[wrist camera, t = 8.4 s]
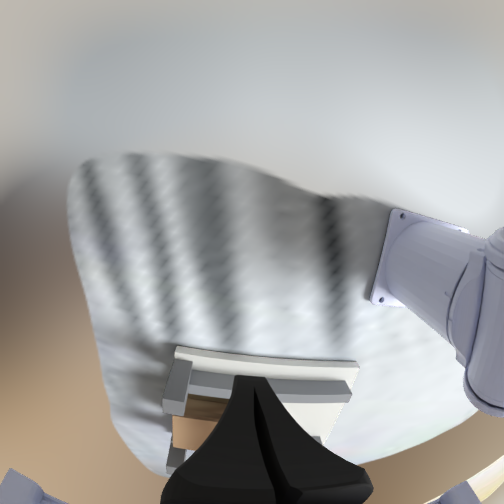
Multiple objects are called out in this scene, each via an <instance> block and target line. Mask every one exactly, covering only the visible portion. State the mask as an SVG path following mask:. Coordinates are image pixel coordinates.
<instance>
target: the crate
mask: <svg viewBox="0 0 504 504" xmlns="http://www.w3.org/2000/svg"><path fill="white" fill-rule="evenodd" d="M228 402H229V399H226V398H218V397H210V396H202V395H196V394H189V393H188V396H187V401H186V406H185V412H184V416H178V415H172V424H173V447H176V448H182V449H188V450H195V451H196V450H197V449H198V448H199V447H200V446H201V445H202V444H203V442H204V441H205V440H206V439H207V437H208V436H209V435H210V433H211V432H212V431H213V429H214V428H215V426H216V424H217V423H218V421H219V420H220V418H221V416H222V414H223V412H224V410H225V408H226V406H227V404H228Z"/></svg>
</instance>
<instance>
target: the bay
mask: <svg viewBox="0 0 504 504" xmlns="http://www.w3.org/2000/svg"><path fill="white" fill-rule="evenodd" d="M359 369H360V366H359V365H358V363H357V362H349V361H314V360H296V359H281V358H269V357H258V356H248V355H239V354H231V353H223V352H215V351H208V350H201V349H195V348H188V347H182V346H177V347H176V350H175V359H174V362H173V365H172V368H171V371H170V375H169V378H168V381H167V384H166V388H165V391H164V394H163V398H162V406H163V413H167V414H172V415H178V416H184V412H185V406H186V401H187V396H188V393H189V394H196V395H202V396H210V397H218V398H226V399H230V396H231V393H232V387H233V381H234V376H236V375H247V376H259V377H265V378H266V379H267V380H268V382H269V384H270V386H271V387H272V389H273V391H274V392H275V394H276V395H277V397H278V398H279V400H280V401H281V403H282V404H283V405H284V407H285V408H286V410H287V411H288V412H289V413H290V415H291V416H292V417H293V418H294V419H295V421H296V422H297V423H298V424H299V425H300V426H301V427H302V428H303V429H304V430H305V431H306V432H307V433H308V434H309V435H310V436H311V437H313V438H314V439H315V440H316V441H317V442H319V443H320V444H321V445H324V443H325V441H326V440H327V438H328V436H329V434H330V432H331V430H332V428H333V426H334V424H335V422H336V420H337V418H338V416H339V414H340V412H341V410H342V408H343V406H344V404H345V403H348V402H349V400H350V398H351V396H352V393H351V391H350V390H351V388H352V386H353V384H354V381H355V379H356V376H357V374H358V372H359ZM186 452H187V449H182V448H176V447H173V432H172V437H171V444H170V449H169V454H168V459H167V464H166V470H167V474H173V472H174V471H175V469H177V468H178V467H179V466H180V465H181V464H183V463H184V462H185V458H186Z"/></svg>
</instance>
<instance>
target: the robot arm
mask: <svg viewBox="0 0 504 504" xmlns="http://www.w3.org/2000/svg"><path fill="white" fill-rule="evenodd" d="M401 214H403V217H402V218H400V215H401ZM458 230H459V231H458ZM381 297H382V300H381V301H379V299H380V298H381ZM370 302H371V303H372V304H374V305H382V306H394V307H407V308H408V309H410V310H411V311H412V312H413V313H415V314H416V315H417V316H418V317H419V318H421V319H422V320H423V321H424V322H425V323H427V324H428V325H429V326H430V327H431V328H432V329H434V330H435V331H436V332H437V333H438V334H440V335H441V336H442V337H443V338H444V339H445V340H446V341H448V342H449V343H450V344H451V345H452V346H453V347H454V348H455V349H456V360H457V361H458V362H459V363H460V364H461V365H462V366H464V367H465V368H466V369H465V373H464V377H463V387H464V391H465V393H466V396H467V398H468V399H469V400H470V402H471V403H472V404H473V405H474V406H475V407H476V408H478V409H479V410H480V411H482V412H484V413H486V414H489V415H491V416H496V417H504V227H502V228H499V229H498V230H496V231H495V232H494V233H493V234H492V235H491V236H489V237H488V238H487V239H483V238H480V237H477V236H474V235H471V234H469V231H468V230H467V229H465V228H462V227H459V226H456V225H453V224H450V223H447V222H443V221H440V220H437V219H433V218H430V217H426V216H423V215H419V214H416V213H412V212H409V211H405V210H401V209H397V208H394V209H393V210H392V211H391V214H390V219H389V224H388V228H387V233H386V237H385V242H384V246H383V250H382V255H381V259H380V263H379V266H378V270H377V274H376V278H375V281H374V285H373V289H372V292H371V295H370ZM372 492H373V485H372V483H371V480H370V478H369V476H368V474H367V473H366V471H365V469H364V468H361V467H359V466H357V465H355V464H353V463H351V462H348V461H346V460H345V459H343V458H341V457H339V456H338V455H336V454H334V453H333V452H331V451H330V450H328V449H327V448H325V447H324V446H323V445H321V444H320V443H319V442H317V441H316V440H315V439H314V438H313V437H311V436H310V435H309V434H308V433H307V432H306V431H305V430H304V429H303V428H302V427H301V426H300V425H299V424H298V423H297V422H296V421H295V419H294V418H293V417H292V416H291V415H290V413H289V412H288V411H287V410H286V408H285V407H284V405H283V404H282V403H281V401H280V400H279V398H278V397H277V395H276V394H275V392H274V391H273V389H272V387H271V386H270V384H269V382H268V380H267V379H266V378H265V377H259V376H247V375H236V376H234V381H233V387H232V393H231V396H230V399H229V402H228V404H227V406H226V408H225V410H224V412H223V414H222V416H221V418H220V420H219V421H218V423H217V424H216V426H215V428H214V429H213V431H212V432H211V433H210V435H209V436H208V437H207V439H206V440H205V441H204V442H203V444H202V445H201V446H200V447H199V448H198V449H197V450H196V451H195V452H194V453H193V454H192V455H191V456H190V457H189V458H188V459H187V460H186V461H185V462H184V463H183V464H181V465H180V466H179V467H178V468H177V469H175V471H174V472H173V474H172V475H171V477H170V479H169V480H168V482H167V483H166V485H165V487H164V489H163V492H162V495H161V501H160V504H363V503H364V502H365V501H366V500H367V499H368V497H369V496H370V495H371V494H372ZM0 504H68V503H66V502H63V501H61V500H59V499H57V498H54V497H52V496H50V495H48V494H46V493H44V491H43V490H42V488H41V487H40V486H39V485H38V484H37V483H36V482H34V481H33V480H31V479H29V478H28V477H26V476H24V475H22V474H20V473H18V472H17V471H15V470H13V469H12V468H9V470H8V472H7V474H6V475H5V477H4V479H3V481H2V483H1V485H0ZM428 504H481V502H480V500H479V499H478V497H477V496H476V494H475V493H474V491H473V490H472V488H471V487H470V485H469V484H468V482H467V481H464V482H462V483H460V484H458V485H456V486H454V487H452V488H451V489H449V490H447V491H446V492H445V493H444V494H443V495H442V496H441V497H440V498H439V499H437V500H435V501H433V502H430V503H428Z"/></svg>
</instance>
